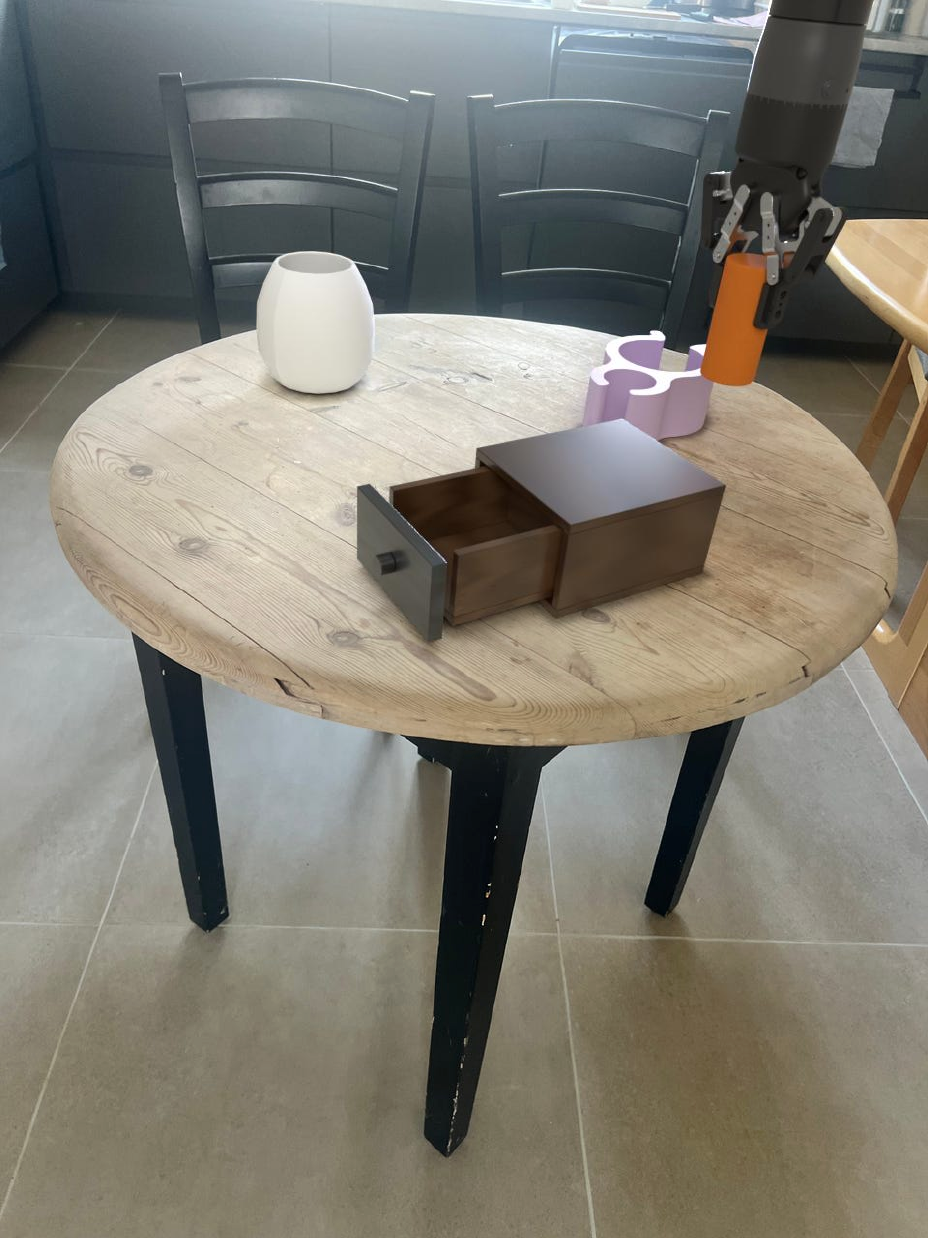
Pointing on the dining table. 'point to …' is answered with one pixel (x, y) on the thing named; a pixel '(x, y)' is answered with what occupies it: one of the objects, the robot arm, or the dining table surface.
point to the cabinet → (612, 509)
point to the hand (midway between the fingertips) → (741, 316)
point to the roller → (736, 322)
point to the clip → (648, 389)
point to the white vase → (315, 322)
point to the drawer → (456, 547)
